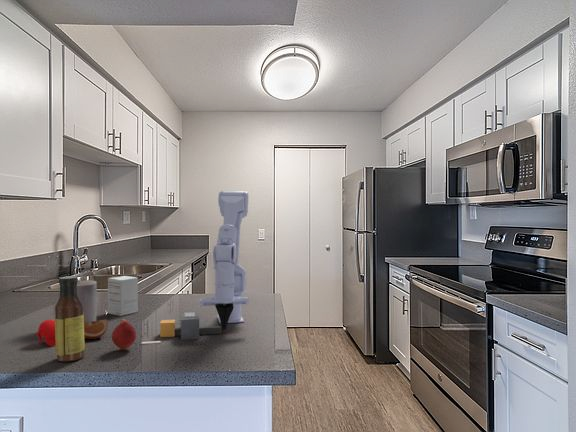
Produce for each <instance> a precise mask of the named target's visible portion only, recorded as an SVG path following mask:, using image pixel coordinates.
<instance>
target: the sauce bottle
mask: <svg viewBox="0 0 576 432" xmlns="http://www.w3.org/2000/svg"><path fill="white" fill-rule="evenodd" d="M77 282H78V276H74V275H71V276H69V275H68V276H62V277H59V278H58V284H59V299H58V300H57V302H56V304H55V307H54V310H55V311H54V314H55V315H54V316H55V318H54V321H55V337H56V345H55V354H56V361H58V362H64V363H67V362H74V361H78V360H81V359H82V358H84V356H85V338H84V312H83V308H82V304H81V302H80V300H79V297H78V292H77Z"/></svg>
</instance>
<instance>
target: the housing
mask: <svg viewBox="0 0 576 432" xmlns="http://www.w3.org/2000/svg"><path fill="white" fill-rule="evenodd" d="M199 316H200V315H199V313H198V310H187V311H184V310H183V311H182V310H181V311H180V322H179V323H180V326H179V328H181V335H180V340H181V341H186V340H189V341H190V340H199V339H200V334H199V327H200V317H199Z"/></svg>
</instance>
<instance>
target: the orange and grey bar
mask: <svg viewBox="0 0 576 432" xmlns="http://www.w3.org/2000/svg"><path fill="white" fill-rule="evenodd" d="M159 323H160V325H159V326H160V327H159V328H160V329H159V330H160V331H159V337H160V338H167V337H169V338H170V337H172V338H173V337H175V336H181V328H180V327H176V319H161V320H160V322H159ZM213 334H217V335H218V334H222V328H221V325H210V326H209V325H207V326H206V325H205V326H199V335H213Z"/></svg>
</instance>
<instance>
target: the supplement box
mask: <svg viewBox="0 0 576 432" xmlns="http://www.w3.org/2000/svg"><path fill="white" fill-rule="evenodd" d="M107 281H108V282H107V286H108V288H107V313H108V314H110V315H114V316H119V317H122V316H126V315H130V314H135V313H137V312H138V311H139V310H138V309H139V307H138V306H139V303H138V302H139V298H138V297H139V292H138V291H139V289H138V288H139V286H138V285H139V277H136V276H128V275H123V276H121V275H120V276H115V277H108V278H107Z"/></svg>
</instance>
